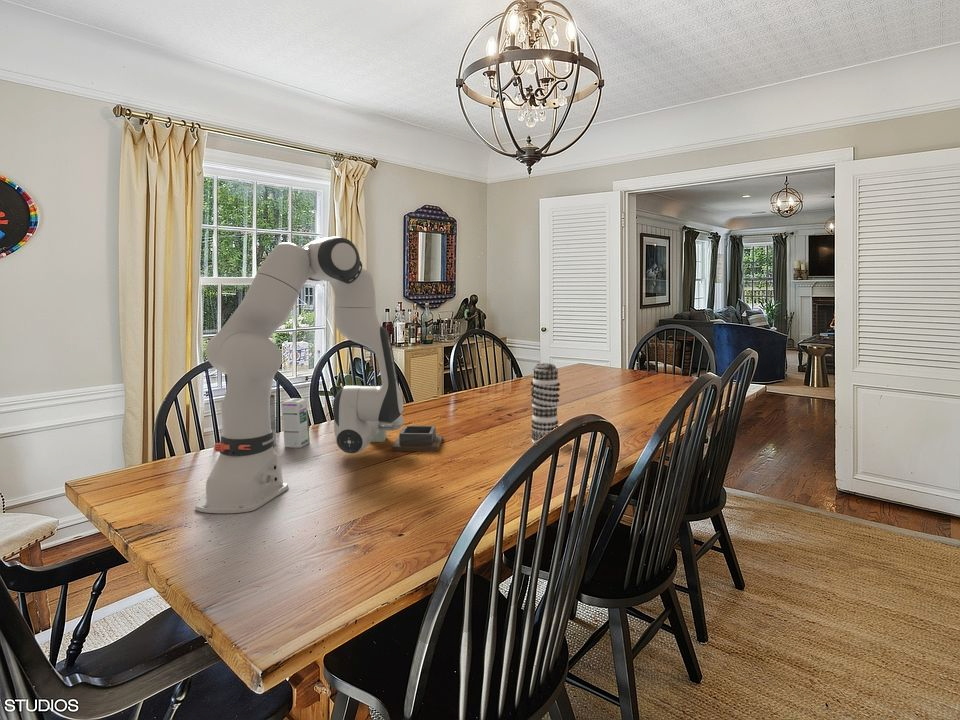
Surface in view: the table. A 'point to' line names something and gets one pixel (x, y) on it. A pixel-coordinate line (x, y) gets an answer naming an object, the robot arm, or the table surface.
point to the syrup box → (295, 422)
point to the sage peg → (380, 436)
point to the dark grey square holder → (418, 439)
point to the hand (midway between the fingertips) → (374, 415)
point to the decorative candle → (544, 400)
